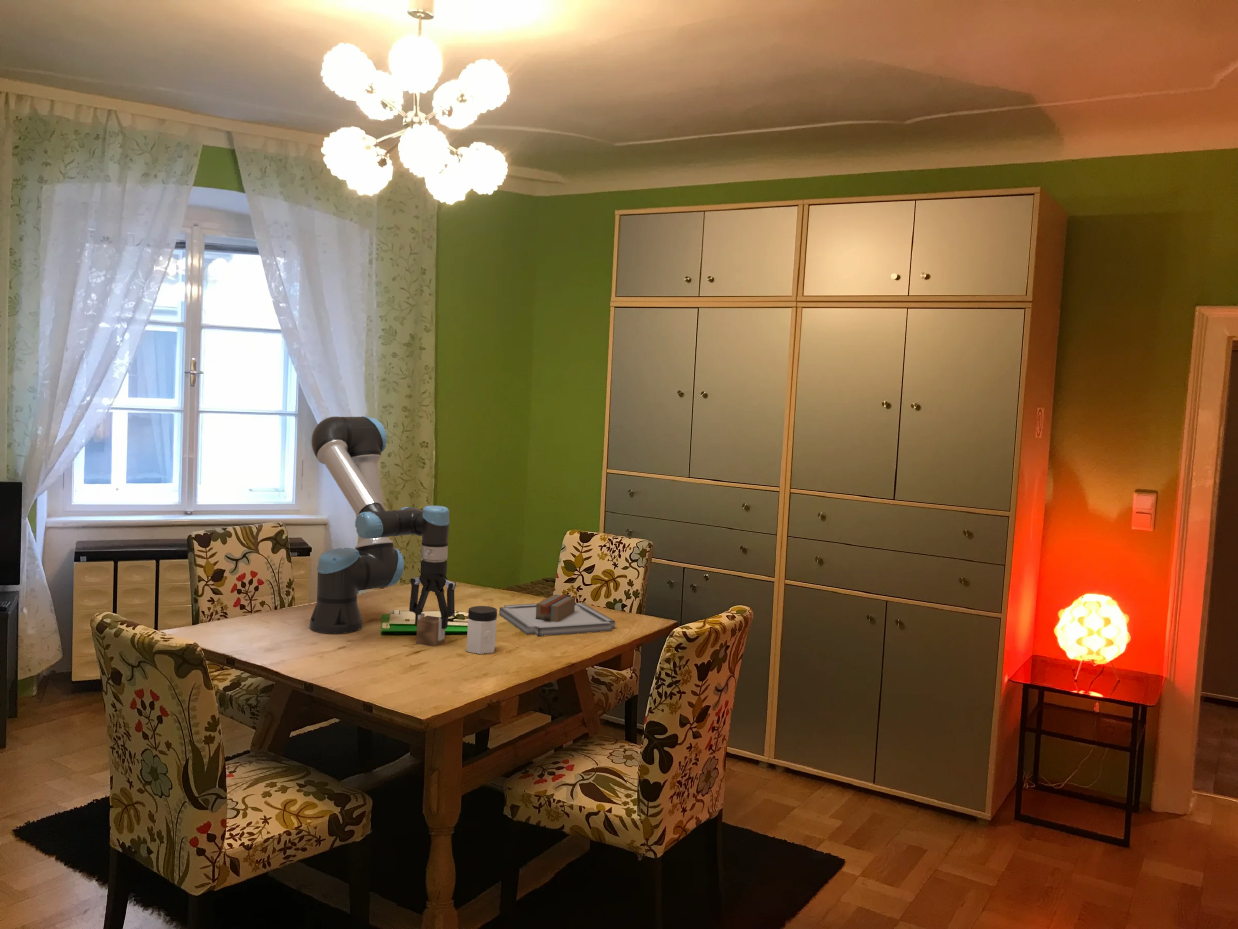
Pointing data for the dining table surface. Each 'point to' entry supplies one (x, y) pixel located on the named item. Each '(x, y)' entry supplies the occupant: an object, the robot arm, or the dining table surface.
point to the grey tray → (556, 617)
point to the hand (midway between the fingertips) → (430, 637)
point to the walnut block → (428, 631)
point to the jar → (481, 629)
